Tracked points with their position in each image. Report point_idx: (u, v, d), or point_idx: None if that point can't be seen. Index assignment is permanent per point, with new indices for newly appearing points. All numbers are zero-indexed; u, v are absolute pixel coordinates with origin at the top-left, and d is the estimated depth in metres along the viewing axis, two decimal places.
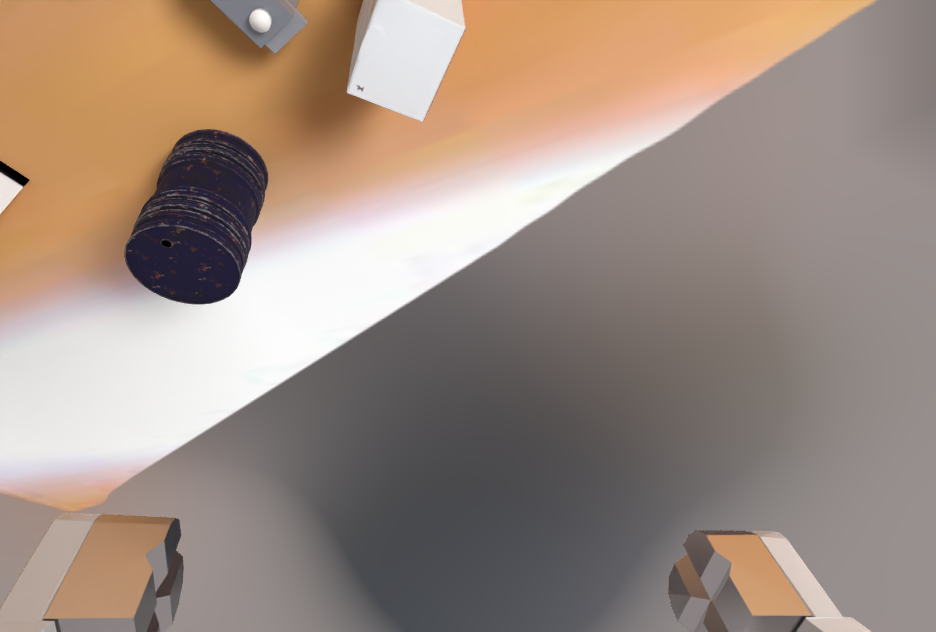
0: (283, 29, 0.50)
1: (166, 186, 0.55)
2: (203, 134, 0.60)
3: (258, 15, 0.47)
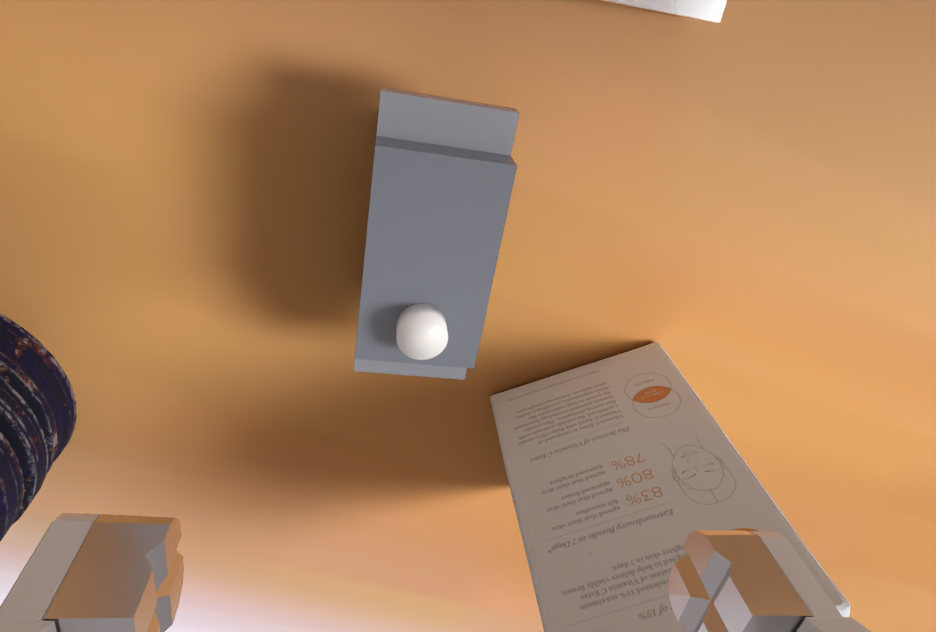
0: None
1: None
2: None
3: (434, 328, 0.19)
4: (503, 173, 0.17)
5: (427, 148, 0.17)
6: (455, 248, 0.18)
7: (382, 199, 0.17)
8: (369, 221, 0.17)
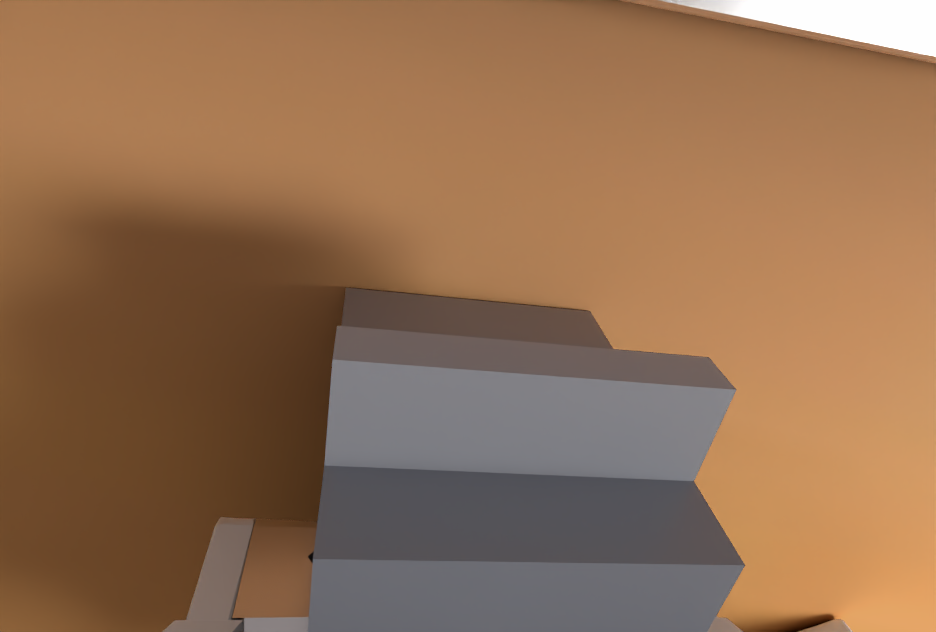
0: None
1: None
2: None
3: None
4: (703, 584, 0.06)
5: (475, 519, 0.06)
6: None
7: None
8: None
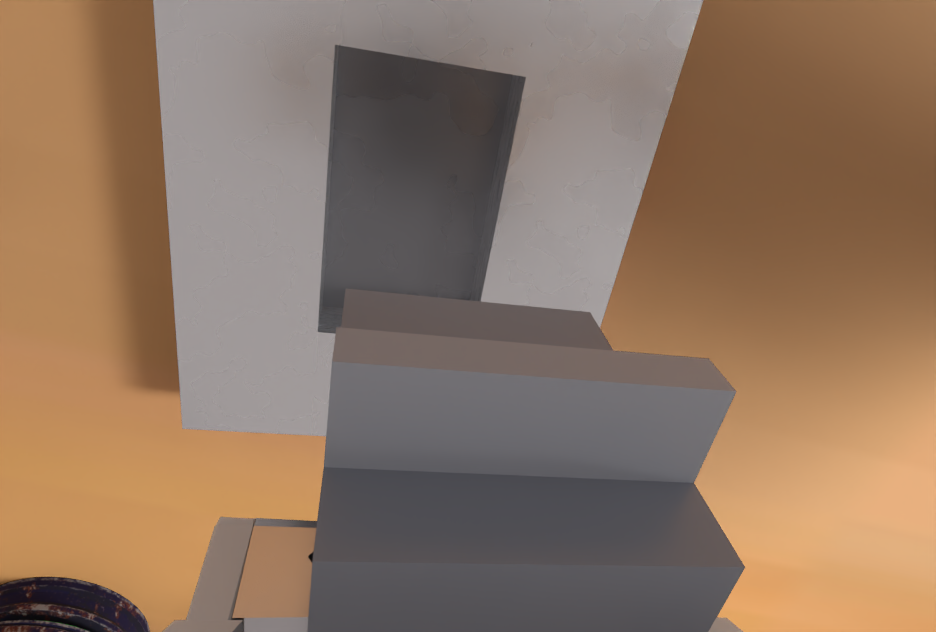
0: None
1: None
2: (100, 600, 0.34)
3: None
4: (702, 587, 0.06)
5: (475, 521, 0.06)
6: None
7: None
8: None
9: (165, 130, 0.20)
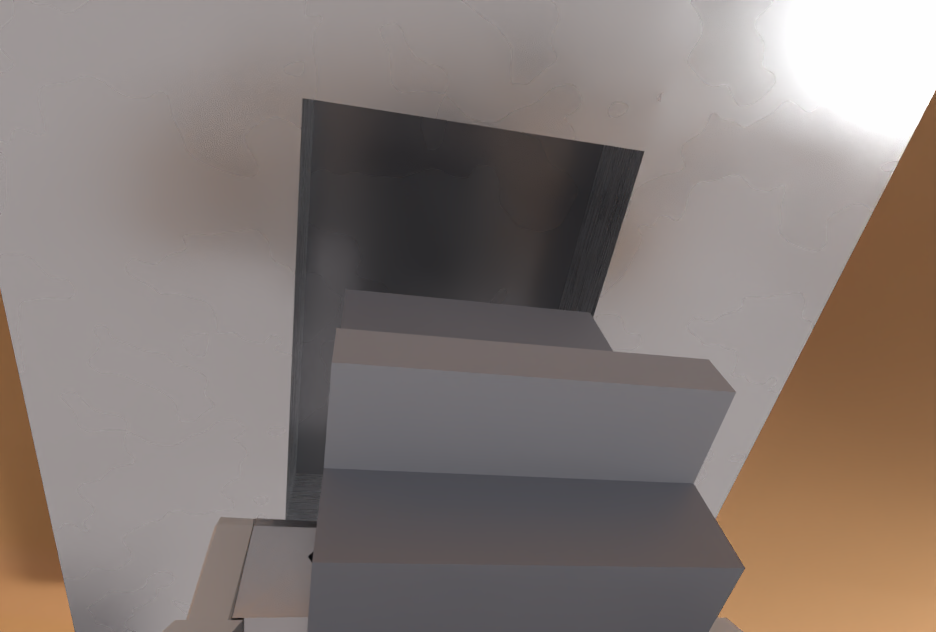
0: None
1: None
2: None
3: None
4: (703, 587, 0.06)
5: (475, 523, 0.06)
6: None
7: None
8: None
9: None
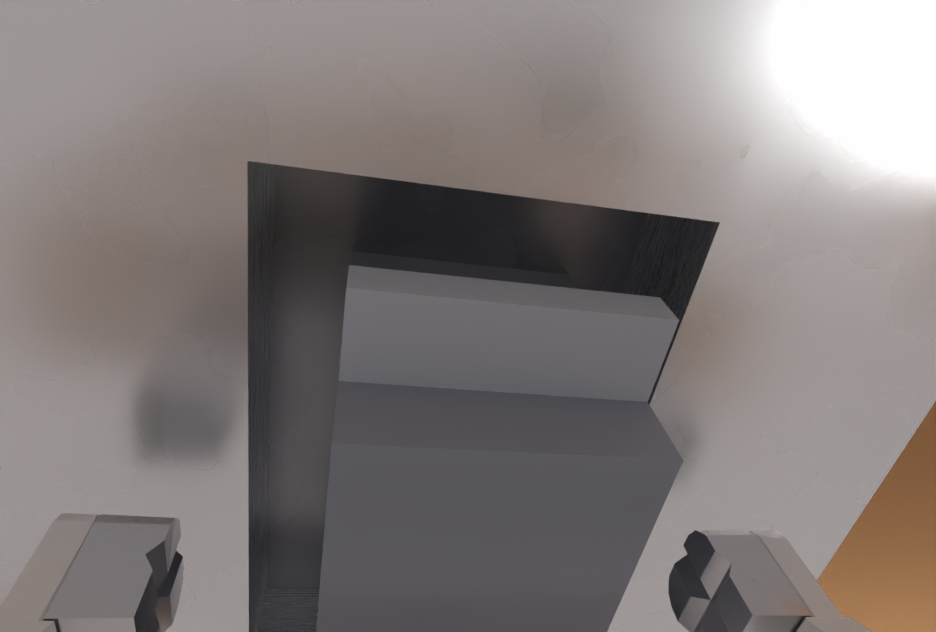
0: None
1: None
2: None
3: None
4: (649, 477, 0.07)
5: (463, 422, 0.07)
6: (523, 610, 0.08)
7: (353, 544, 0.07)
8: (323, 583, 0.07)
9: None
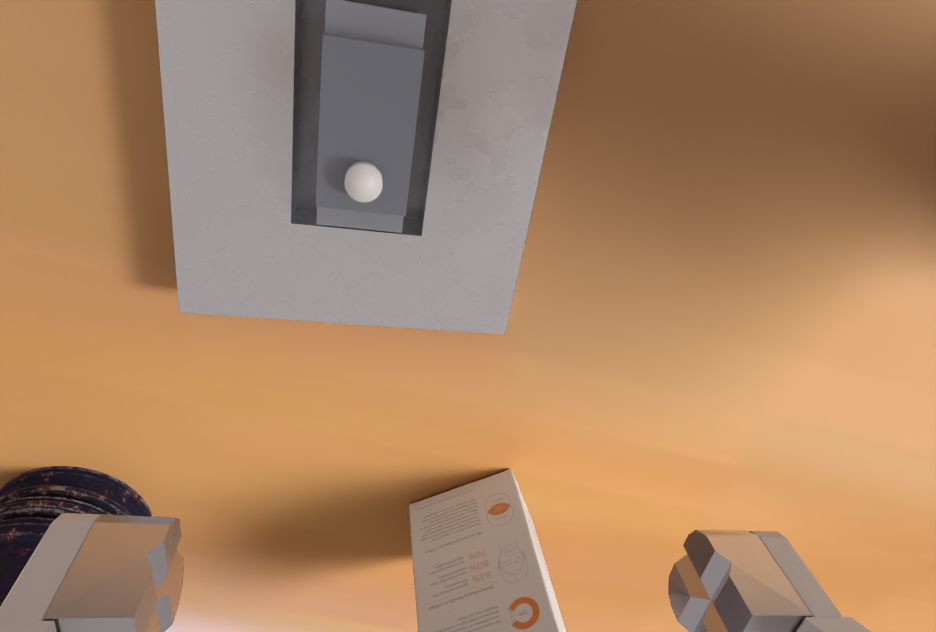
0: None
1: None
2: (109, 486, 0.38)
3: (371, 176, 0.26)
4: (415, 56, 0.24)
5: (360, 39, 0.24)
6: (385, 116, 0.25)
7: (329, 76, 0.24)
8: (321, 93, 0.25)
9: (161, 43, 0.25)
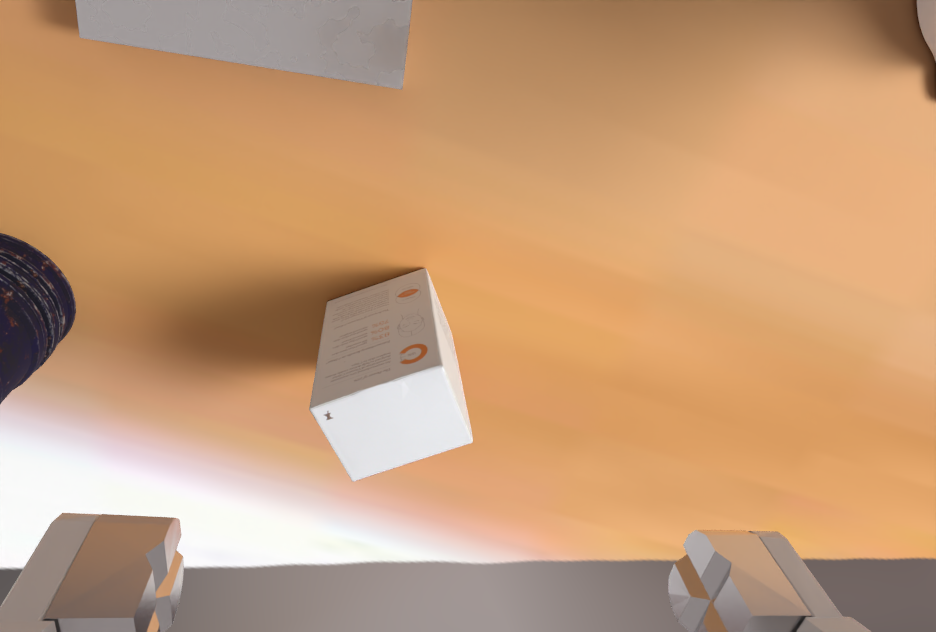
0: None
1: None
2: (28, 252, 0.40)
3: None
4: None
5: None
6: None
7: None
8: None
9: None
